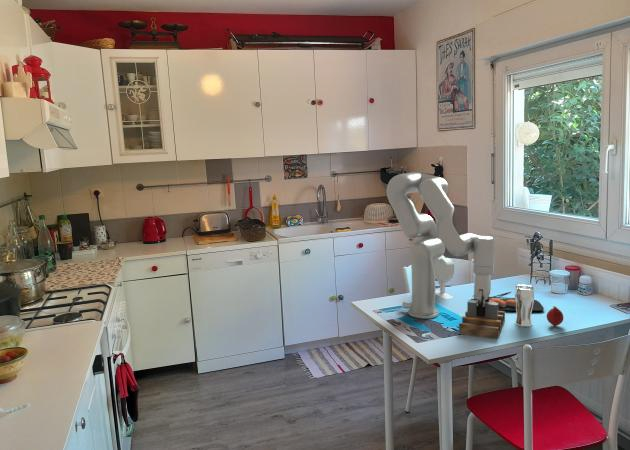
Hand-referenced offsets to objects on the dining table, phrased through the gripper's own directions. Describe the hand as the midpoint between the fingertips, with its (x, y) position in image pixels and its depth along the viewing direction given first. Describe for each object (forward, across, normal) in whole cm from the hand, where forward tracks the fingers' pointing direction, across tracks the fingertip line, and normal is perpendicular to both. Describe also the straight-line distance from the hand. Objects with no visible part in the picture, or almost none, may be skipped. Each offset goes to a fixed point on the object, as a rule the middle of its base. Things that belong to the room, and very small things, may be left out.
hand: (482, 312), depth 200 cm
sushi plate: (+7, -36, +3) cm, 36 cm away
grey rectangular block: (+5, 0, 0) cm, 5 cm away
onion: (+6, -11, +25) cm, 28 cm away
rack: (+6, 0, 0) cm, 6 cm away
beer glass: (+6, -9, +14) cm, 18 cm away
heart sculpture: (+6, -37, -24) cm, 44 cm away
